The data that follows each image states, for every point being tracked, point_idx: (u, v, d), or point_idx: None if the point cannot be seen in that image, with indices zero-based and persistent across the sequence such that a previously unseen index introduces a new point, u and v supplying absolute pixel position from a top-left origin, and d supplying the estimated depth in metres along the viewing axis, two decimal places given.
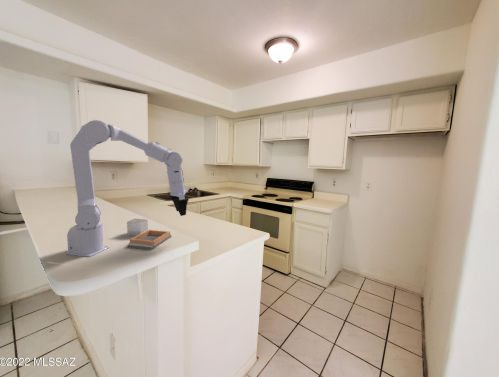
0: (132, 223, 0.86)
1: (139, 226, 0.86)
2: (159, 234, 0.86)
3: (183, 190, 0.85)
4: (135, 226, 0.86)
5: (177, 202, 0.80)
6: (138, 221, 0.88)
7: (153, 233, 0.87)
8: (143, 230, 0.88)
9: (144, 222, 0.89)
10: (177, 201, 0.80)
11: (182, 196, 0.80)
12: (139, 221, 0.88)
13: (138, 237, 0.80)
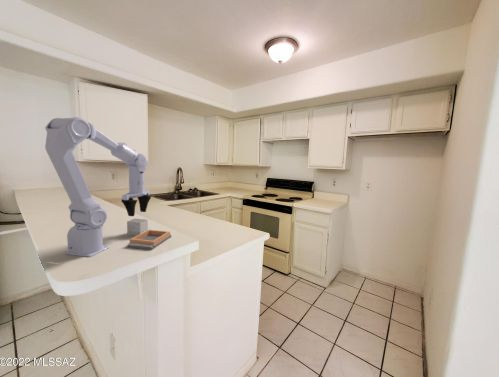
0: (132, 223, 0.86)
1: (139, 226, 0.86)
2: (159, 234, 0.86)
3: (138, 192, 0.85)
4: (135, 226, 0.86)
5: (123, 201, 0.82)
6: (138, 221, 0.88)
7: (153, 233, 0.87)
8: (143, 230, 0.88)
9: (144, 222, 0.89)
10: (123, 200, 0.82)
11: (125, 196, 0.80)
12: (139, 221, 0.88)
13: (138, 237, 0.80)
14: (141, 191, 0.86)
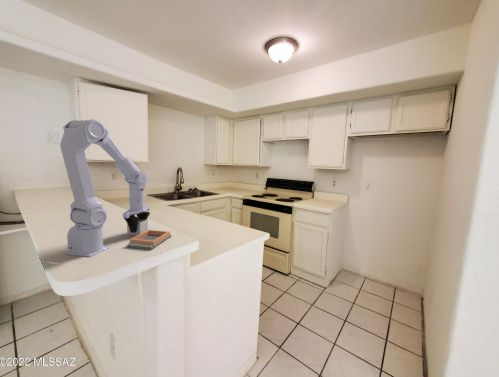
0: None
1: (139, 226, 0.86)
2: (159, 234, 0.86)
3: (138, 209, 0.86)
4: None
5: (125, 218, 0.84)
6: (138, 221, 0.88)
7: (153, 233, 0.87)
8: (143, 230, 0.88)
9: (144, 222, 0.89)
10: (125, 217, 0.84)
11: (125, 215, 0.81)
12: (139, 221, 0.88)
13: (138, 237, 0.80)
14: (141, 208, 0.87)
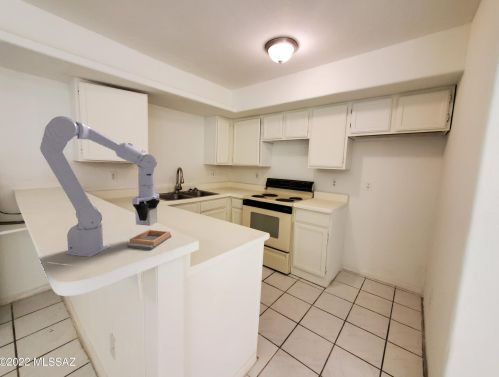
0: None
1: (148, 214, 0.80)
2: (159, 234, 0.86)
3: (148, 195, 0.79)
4: None
5: (134, 205, 0.77)
6: (147, 209, 0.81)
7: (153, 233, 0.87)
8: (153, 219, 0.82)
9: (153, 210, 0.82)
10: (134, 204, 0.77)
11: (135, 201, 0.75)
12: (148, 209, 0.81)
13: (138, 237, 0.80)
14: (151, 194, 0.80)
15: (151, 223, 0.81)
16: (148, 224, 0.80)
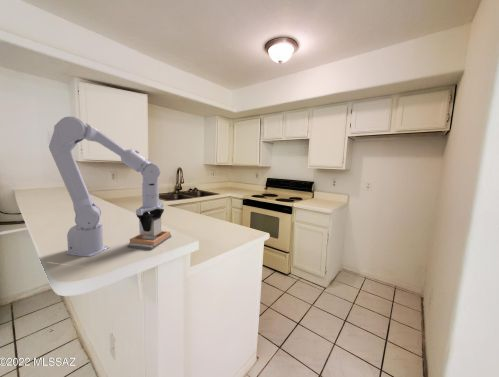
0: None
1: (153, 225, 0.78)
2: (159, 234, 0.86)
3: (152, 205, 0.78)
4: None
5: (138, 216, 0.76)
6: (151, 219, 0.79)
7: None
8: (157, 229, 0.80)
9: (158, 220, 0.81)
10: (138, 215, 0.76)
11: (139, 211, 0.73)
12: (152, 219, 0.80)
13: (138, 237, 0.80)
14: (155, 204, 0.79)
15: (155, 234, 0.79)
16: (152, 235, 0.79)
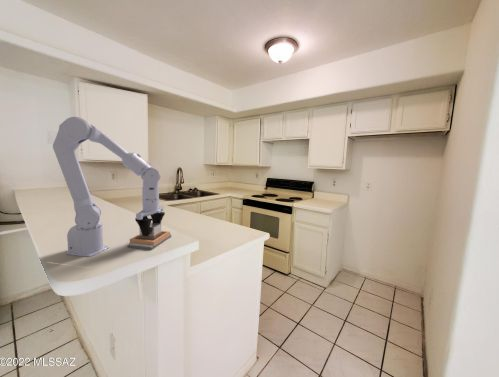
0: None
1: (153, 231, 0.78)
2: None
3: (152, 209, 0.78)
4: None
5: (137, 220, 0.75)
6: (151, 225, 0.80)
7: None
8: (157, 235, 0.81)
9: (158, 226, 0.81)
10: (137, 219, 0.75)
11: (139, 216, 0.73)
12: (152, 225, 0.80)
13: (138, 237, 0.80)
14: (155, 208, 0.79)
15: None
16: None
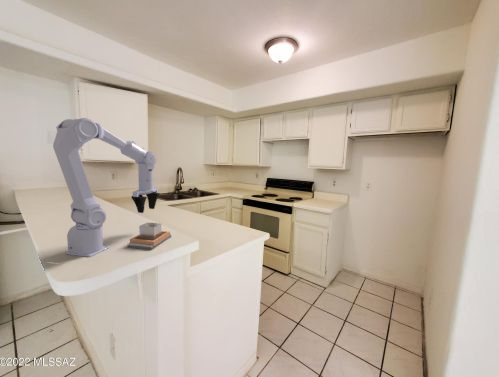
0: (145, 228, 0.79)
1: (153, 231, 0.78)
2: None
3: (147, 189, 0.87)
4: (148, 231, 0.79)
5: (133, 198, 0.84)
6: (151, 225, 0.80)
7: None
8: (157, 235, 0.81)
9: (158, 226, 0.81)
10: (133, 197, 0.84)
11: (135, 193, 0.82)
12: (152, 225, 0.80)
13: (138, 237, 0.80)
14: (150, 188, 0.88)
15: None
16: None
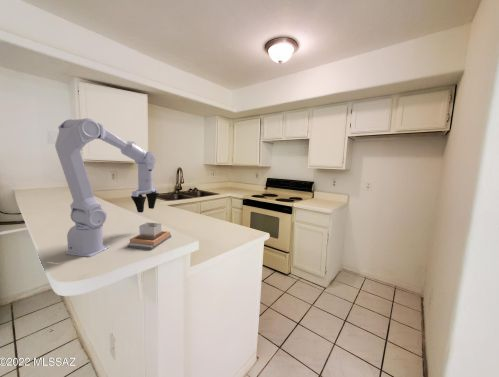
0: (145, 228, 0.79)
1: (153, 231, 0.78)
2: None
3: (147, 189, 0.88)
4: (148, 231, 0.79)
5: (132, 198, 0.85)
6: (151, 225, 0.80)
7: None
8: (157, 235, 0.81)
9: (158, 226, 0.81)
10: (132, 197, 0.84)
11: (135, 193, 0.83)
12: (152, 225, 0.80)
13: (138, 237, 0.80)
14: (150, 188, 0.89)
15: None
16: None
